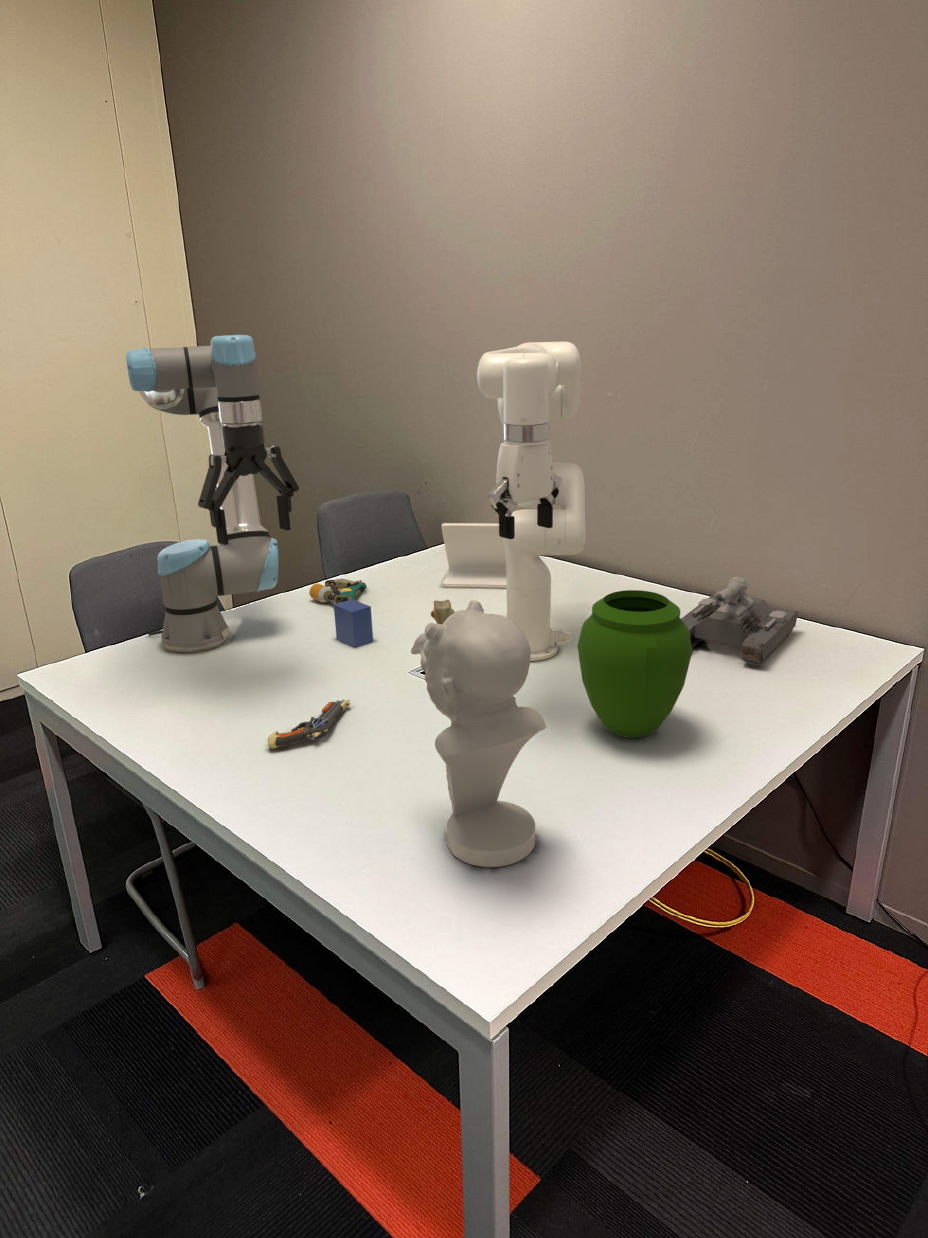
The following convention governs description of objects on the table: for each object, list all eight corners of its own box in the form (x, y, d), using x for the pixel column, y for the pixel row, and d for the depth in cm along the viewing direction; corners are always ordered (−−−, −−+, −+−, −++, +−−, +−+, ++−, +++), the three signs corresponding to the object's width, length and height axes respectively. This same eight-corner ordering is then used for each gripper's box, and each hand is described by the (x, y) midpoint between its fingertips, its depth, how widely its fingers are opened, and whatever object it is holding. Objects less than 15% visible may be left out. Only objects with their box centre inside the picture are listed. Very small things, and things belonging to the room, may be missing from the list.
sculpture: (458, 662, 183) (456, 596, 178) (460, 676, 176) (457, 608, 171) (431, 663, 183) (428, 597, 177) (431, 677, 176) (428, 609, 171)
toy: (710, 615, 205) (715, 555, 200) (796, 631, 194) (803, 568, 189) (667, 650, 186) (671, 585, 181) (759, 670, 175) (767, 601, 170)
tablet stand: (534, 588, 228) (534, 526, 222) (442, 586, 231) (439, 525, 225) (538, 568, 245) (538, 509, 239) (451, 566, 248) (449, 509, 242)
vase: (701, 718, 156) (710, 592, 147) (663, 766, 141) (671, 629, 132) (602, 695, 166) (606, 576, 157) (557, 738, 151) (558, 608, 142)
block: (354, 633, 201) (352, 599, 198) (373, 641, 196) (370, 606, 193) (336, 639, 198) (333, 604, 195) (354, 647, 193) (352, 612, 190)
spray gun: (334, 586, 236) (381, 594, 231) (299, 601, 222) (348, 610, 216) (334, 571, 235) (381, 579, 229) (298, 586, 221) (348, 594, 215)
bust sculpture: (481, 772, 140) (476, 569, 128) (565, 848, 120) (569, 617, 108) (392, 800, 134) (378, 588, 121) (465, 886, 114) (457, 642, 101)
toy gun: (262, 738, 148) (316, 736, 146) (302, 698, 166) (350, 695, 164) (265, 752, 149) (319, 750, 147) (304, 710, 167) (353, 708, 165)
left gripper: (288, 414, 167) (298, 520, 174) (168, 430, 151) (185, 546, 158) (310, 417, 162) (320, 526, 169) (188, 434, 146) (205, 553, 153)
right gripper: (544, 425, 152) (543, 519, 158) (473, 437, 141) (475, 538, 147) (576, 429, 146) (574, 526, 153) (505, 442, 136) (506, 546, 142)
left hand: (255, 536), depth 164 cm, fingers open, 13 cm apart
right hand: (526, 532), depth 150 cm, fingers open, 9 cm apart
